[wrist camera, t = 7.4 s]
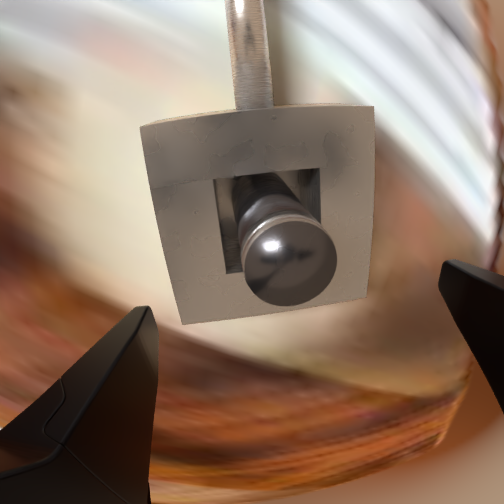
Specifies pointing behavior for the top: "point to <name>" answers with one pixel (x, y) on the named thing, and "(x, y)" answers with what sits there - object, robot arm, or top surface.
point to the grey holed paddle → (254, 162)
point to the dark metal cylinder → (280, 242)
